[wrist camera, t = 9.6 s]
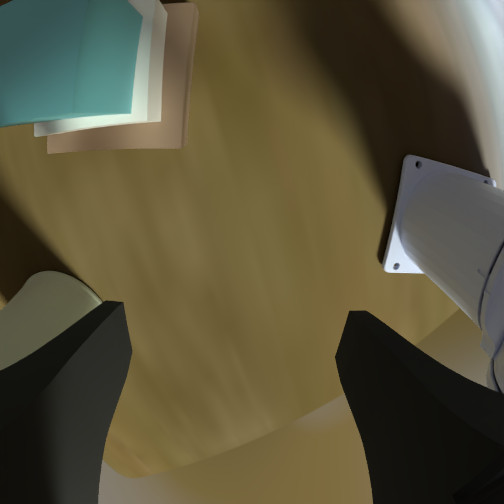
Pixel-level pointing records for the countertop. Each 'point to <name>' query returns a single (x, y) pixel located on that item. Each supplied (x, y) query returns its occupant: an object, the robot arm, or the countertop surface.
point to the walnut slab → (173, 97)
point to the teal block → (66, 59)
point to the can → (42, 313)
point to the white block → (145, 78)
